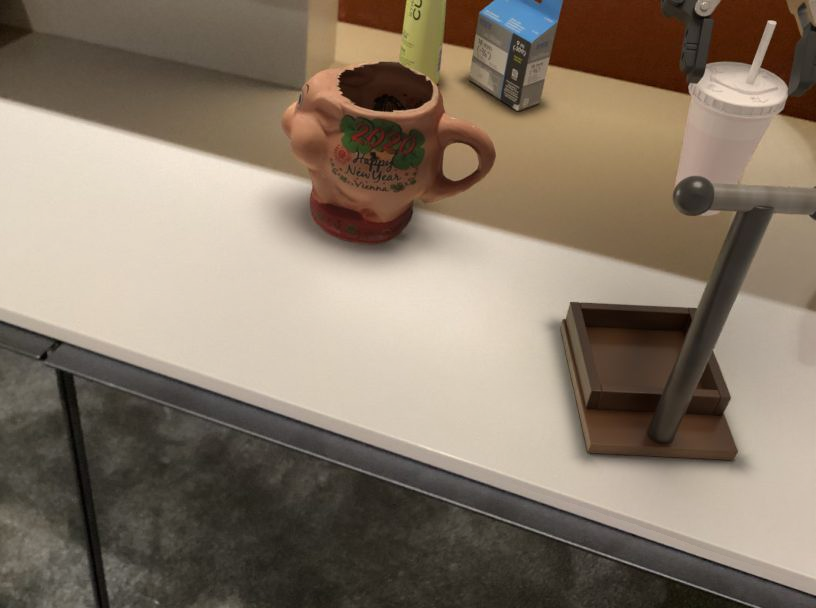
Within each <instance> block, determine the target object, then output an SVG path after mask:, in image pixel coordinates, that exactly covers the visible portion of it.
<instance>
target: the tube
mask: <svg viewBox="0 0 816 608" xmlns="http://www.w3.org/2000/svg"><path fill="white" fill-rule="evenodd" d="M446 7H447V0H406V1H405V9H404V17H403V24H402V33H401V40H400V50H399V59H398V62H399V63H401V64H402V65H403V66H406V67H409V68H412V69H414V70H416V71H418V72H420V73H422V74H424V75H426V76H428V77H429V78H430V79H431V80H432V81H433V82H434V83H435V84H436V85H437V84H438V83H439V82H440V75H441V68H442V67H441V65H442V56H443V55H442V54H443V46H444V35H445V22H446V11H447V8H446Z"/></svg>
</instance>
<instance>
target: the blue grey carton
mask: <svg viewBox="0 0 816 608" xmlns="http://www.w3.org/2000/svg"><path fill="white" fill-rule="evenodd" d="M563 3H564V0H541V2H540V3H539V2H538V1H536V0H493V1H491V2H490V3H489V4H488V5H487V6H485V7H484V8H483V9H482V10H480V11H479V12H478V17H477V25H476V30H475V37H474V43H473V49H472V50H473V51H472V55H471V56H472V57H471V63H470V69H469V76H468V80H469V81H470V82H472V83H473V84H475V85H477V86H478V87H480V88H481V89H483V90H485V91H486V92H488V94H491V95H492V96H493V97H495V98H497V99H498V100H500V101H502V102H503V103H505V104H506V105H507V106H509V107H511V108H512V109H514V110H515V111H517V112H521V111H523V110H527V109H529V108H532V107H535V106H538V105H539V104H540V103H541V100H542V94H543V91H544V85H545V82H546V76H547V72H548V69H549V68H548V67H549V63H550V60H551V59H550V58H551V55H552V50H553V46H554V41H555V36H556V32H557V28H558V24H559V19H560V15H561V12H562V11H561V10H562V6H563Z"/></svg>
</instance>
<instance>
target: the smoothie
mask: <svg viewBox="0 0 816 608" xmlns="http://www.w3.org/2000/svg"><path fill="white" fill-rule="evenodd" d="M776 26H777V21H775V20H767V23H766V25H765V28H764V31H763V33H762V36H761V39H760V42H759V44H758V46H757V50H756V51H755V52H756V53H755V55H754V58H753V61H752V64H749V63H745V62H737V61H715V62H710V63H707V64H706V69H705V73H704V76H703V77H702V79H701V80H700V81H699V82H698V84H694V83H688V93H689V95H690V101H689V102H690V103H689V107H688V111H687V118H686V124H685V129H684V133H683V140H682V145H681V149H680V155H679V161H678V166H677V172H676V177H675V182H674V187H673V190H674V189H675V187H676V186H677V184H678V183H679V182H680V181H682V180H683V179H685V178H687V177H690V176H702V177H704V178H706V179H708V180H709V181H710V182H711V183H717V184H738V182H739V180H740V178H741V177H742V176H743V173H744V172H745V170H746V169H747V166H748V165H749V163H750V161H751V159H752V157H753V155H754V154H755V151H756V150H757V148H758V146H759V145H760V143H761V141H762V139H763V137H764V135H765V134H766V132H767V131H768V129H769V127H770V125H771V123H772V121H773V119H774V118H775V116H777V115H778V114H780V113H781V112H782V111H783V110H784V109H785V105H786V102H787V99H788V98H789V96H788V87H789V86H788V85H787V83H786V82H785V81H784V80H783V79H782V78H781V77H779V76H778V75H777V74H775V73H773V72H772V71H769V70H767V69H765V68H763V67H761V66H762V63H763V62H764V61H763V60H764V58H765V56H766V52H767V51H768V47H769V45H770V42H771V39H772V37H773V34H774V31H775V30H776ZM721 212H722V211H714V210H708V211H707V212H705V213H703V214H701V215H700V217H701V216H702V217H705V216H706V217H709V216H710V217H711V216H714V215H717V214H719V213H721Z"/></svg>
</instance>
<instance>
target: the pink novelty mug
mask: <svg viewBox="0 0 816 608" xmlns="http://www.w3.org/2000/svg"><path fill="white" fill-rule="evenodd" d="M280 125H281V129H282V131H283V133H284V135H286V137H287V138H288V139H289V140H290V148H291V152H292V155H293V156H294V158H295V159H296V160H297V161H298V162H300V163H301V164H303V165H304V166H306V168H307V171H308V174H309V177H310V180H311V190H310V195H309V210H310V214H311V216H312V219H313V221H314V222H315V223H316V225H318V227H320V229H321V230H322V231H324V232H325V233H327V234H329V235H331V236H332V237H336V238H338V239H340V240H344V241H347V242H352V243H357V244H364V245H376V244H383V243H387V242H389V241H391V240H393V239H395V238H396V237H397V236H398V235H399V234H401V233H402V232H403V231H404V230H405V229H406V228H407V227H408V225H409V224H410V222H411V220H412V218H413V214H414V201H415V199H418V200H420V201H421V202H422V203H424V204H431V203H434V202H437V201H442V200H445V199H450V198H453V197H456V196H457V195H459V194H461V193H463V192H466V191H468V190H470V188H472V187H473V186H474V185H477V184H478V183H479V182H481V181H482V180H483V179H485V177H487V175H488V174H489V173H490V171H491V170H492V168H493V166H494V164H495V162H496V157H497V154H496V149H495V145H494V142H493V140H492V138H491V137H490V136H489V134H488V133H486V131H485V130H484V129H482V127H480V126H478V125H477V124H475V123H473V122H472V121H468V120H465V119H463V118H458V117H452V116H450V115H448V114H447V112H446V110H445V106H444V99H443V94H442V92H441V90H440V88H439V86H438V85H437V84H435V83H434V82H433V81H432V80H431V79H430V78H429V77H428V76H426V75H424V74H422V73H420V72H418V71H416V70H414V69H412V68H409V67H406V66H403V65H402V64H401V63H399V61H370V62H369V61H368V62H365V61H364V62H355V63H352V64H349V65H346V66H342V67H335V68H329V69H324V70H322V71H319V72H317V73H315V74H313V75H312V76H311V77H310V78H309V79H308V81H306V82H305V84H304V85H303V86H302V88H301V89H300V92H299V96H298V100H296V101H295V102H293V103H292V104H290V106H288V107H287V108H286V109H285V110H284V112H283V113H282V115H281V119H280ZM452 144H463V145H467V146H469V147H470V148H471V149H473V150H474V152H475V154H476V156H477V161H478V165H477V168H476V170H474V171H473V172H472V173H470V174H469V175H467V176H465V177H463V178H461V179H459V180H453V179H450V178H448V177H446V175H445V173H444V169H443V167H444V154H445V150H446V148H447V147H449V146H451V145H452Z"/></svg>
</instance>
